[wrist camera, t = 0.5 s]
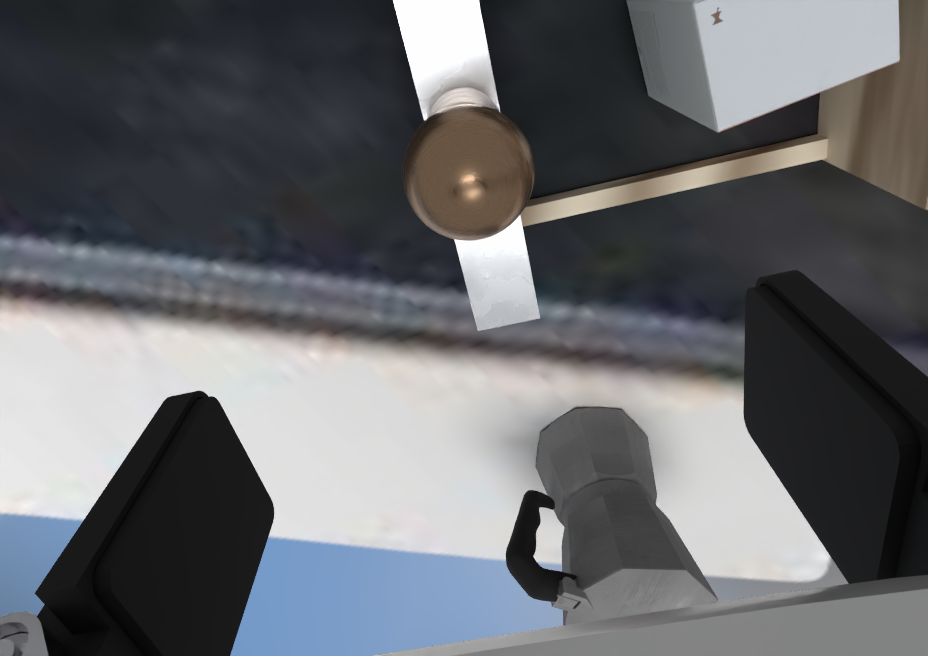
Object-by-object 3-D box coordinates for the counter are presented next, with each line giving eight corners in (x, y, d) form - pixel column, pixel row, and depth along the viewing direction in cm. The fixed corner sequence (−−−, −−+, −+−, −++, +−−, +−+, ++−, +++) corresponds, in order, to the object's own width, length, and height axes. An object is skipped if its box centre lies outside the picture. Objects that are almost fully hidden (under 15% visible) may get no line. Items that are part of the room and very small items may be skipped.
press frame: (907, -252, 28) (1111, -355, 19) (866, 145, 37) (992, 195, 28) (380, -101, 30) (351, -133, 22) (463, 235, 40) (466, 307, 31)
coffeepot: (690, 434, 48) (802, 650, 33) (625, 510, 53) (698, 732, 37) (522, 367, 45) (559, 573, 29) (467, 454, 49) (474, 674, 34)
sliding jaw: (457, -128, 29) (464, -283, 12) (525, 231, 38) (585, 436, 21) (376, -105, 29) (270, -222, 12) (464, 245, 38) (473, 457, 21)
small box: (646, 97, 35) (713, 137, 26) (622, -4, 33) (688, 3, 24) (784, 41, 34) (905, 64, 25) (772, -68, 31) (902, -88, 22)
